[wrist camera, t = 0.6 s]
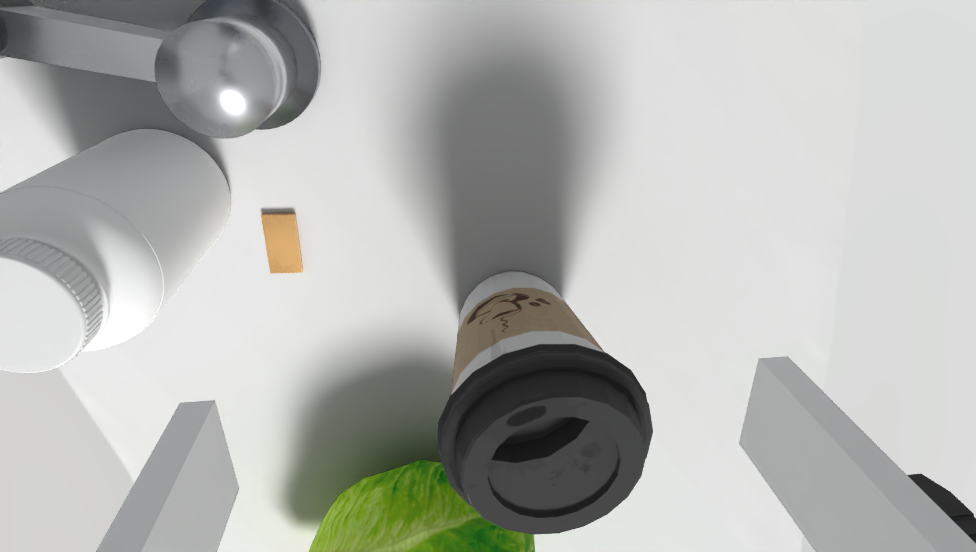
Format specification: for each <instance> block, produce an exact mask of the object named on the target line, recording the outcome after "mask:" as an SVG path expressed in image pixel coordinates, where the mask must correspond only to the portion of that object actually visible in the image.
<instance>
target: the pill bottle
mask: <svg viewBox="0 0 976 552" xmlns="http://www.w3.org/2000/svg"><path fill="white" fill-rule="evenodd" d="M230 210H231V197H230V191H229V187H228V184H227V181H226V179H225V177H224V175H223V173H222V171H221V169H220V168H219V166H218V165H217V164H216V162H215V161H214V160H213V159H212V158H211V157H210V156H209V155H208V154H207V153H206V152H205V151H204V150H203V149H202V148H200V147H199V146H198V145H196V144H195V143H193V142H191V141H190V140H188V139H186V138H184V137H182V136H179V135H177V134H174V133H171V132H167V131H163V130H157V129H137V130H131V131H127V132H123V133H120V134H117V135H114V136H112V137H110V138H108V139H106V140H104V141H102V142H100V143H98V144H96V145H94V146H92V147H90V148H88V149H86V150H84V151H82V152H80V153H78V154H76V155H74V156H72V157H70V158H68V159H66V160H64V161H62V162H60V163H58V164H56V165H54V166H52V167H50V168H48V169H46V170H44V171H42V172H41V173H39V174H37V175H35V176H33V177H31V178H29V179H27V180H25V181H23V182H21V183H19V184H17V185H15V186H13V187H11V188H9V189H7V190H5V191H3V192H1V193H0V369H3V370H7V371H13V372H22V373H33V372H43V371H48V370H51V369H52V370H53V369H56V368H57V367H58V368H59V367H61V366H62V365H65V364H67V363H68V362H70V361H72V360H73V359H74V358H75V357H76V356H77V355H78V354H79V353H80V352H81V351H93V350H99V349H104V348H108V347H112V346H115V345H117V344H120V343H122V342H124V341H126V340H128V339H130V338H132V337H134V336H136V335H137V334H139V333H140V332H142V331H143V330H144V329H145V328H146V327H147V326H148V325H149V324H150V323H151V322H152V321H153V320H154V319H155V318H156V317H157V315H158V314H159V313H160V312H161V310H162V309H163V308H164V307H165V305H166V304H167V303H168V302H169V300H170V299H171V298H172V296H173V295H174V294H175V293H176V291H177V290H178V289H179V288H180V286H181V285H182V284H183V283H184V281H185V280H186V279H187V278H188V276H189V275H190V274H191V273H192V271H193V270H194V269H195V268H196V266H197V265H198V264H199V262H200V261H201V260H202V259H203V257H204V256H205V255H206V254H207V252H208V251H209V250H210V249H211V247H212V246H213V245H214V244H215V242H216V241H217V240H218V239H219V237H220V236H221V234H222V233H223V231H224V229H225V227H226V225H227V222H228V219H229V216H230Z"/></svg>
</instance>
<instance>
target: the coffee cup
mask: <svg viewBox="0 0 976 552" xmlns="http://www.w3.org/2000/svg"><path fill="white" fill-rule="evenodd" d="M652 433H653V429H652V422H651V416H650V409H649V404H648V402H647V399H646V393H645V391H644V390H643V388H642V387H641V385H640V383H639V382H638V380H637V379H636V377H635V376H634V374H633V372H632V371H631V370H630V369H628V368H627V367H626V366H624V365H623V364H621V363H620V362H619V361H617V360H616V359H614V358H613V357H612V356H610V355H609V354H607V353H605V352H604V351H603V350H602V348H601V347H600V346H599V344H598V343H597V342H596V341H595V339H594V338H593V337H592V335H591V334H590V333H589V332H588V330H587V329H586V328H585V327H584V325H583V324H582V323H581V321H580V320H579V319H578V318H577V316H576V315H575V314H574V313H573V311H572V310H571V309H570V307H569V306H568V305H567V304H566V302H565V301H564V300H563V298H562V297H561V296H560V295H559V293H558V292H557V291H556V290H555V288H553V287H552V286H551V285H549V284H548V283H547V282H545V281H544V280H543V279H540V278H539V277H538V276H535V275H532V274H529V273H526V272H523V271H506V272H503V273H499V274H495V275H492V276H490V277H488V278H487V279H485V280H484V281H482V282H480V283H479V284H478V285H477V286H476V287H475V288H474V289H473V290H472V291H471V293H470V294H469V295H468V297H467V299H466V301H465V303H464V306H463V308H462V310H461V313H460V317H459V326H458V335H457V345H456V354H455V363H454V372H453V381H452V390H451V396H450V398H449V400H448V402H447V405H446V407H445V409H444V411H443V413H442V416H441V418H440V420H439V422H438V444H437V450H438V453H439V455H440V458H441V463H442V466H443V468H444V471H445V473H446V476H447V478H448V481H449V483H450V486H451V487H452V488H453V489H454V490H455V491H456V492H457V493H458V494H459V495H460V496H461V497H462V498H463V499H464V500H465V502H466V503H467V504H468V505H470V506H472V507H473V508H474V509H475V510H476V511H477V512H478V513H479V514H480V515H481V516H482V517H483V518H484V519H485V520H487V521H489V522H491V523H493V524H495V525H497V526H499V527H501V528H503V529H505V530H510V531H516V532H521V533H526V534H552V533H561V532H564V531H568V530H572V529H576V528H579V527H583V526H585V525H587V524H589V523H591V522H593V521H595V520H597V519H599V518H601V517H603V516H605V515H607V514H608V513H609V512H611V511H612V510H613V509H614V508H615V507H616V506H618V505H619V504H620V503H621V502H622V501H623V500H625V499H626V498H627V497H628V496H629V494H630V493H631V491H632V490H633V488H634V486H635V485H636V483H637V482H638V480H639V479H640V477H641V475H642V471H643V467H644V463H645V459H646V457H647V454H648V450H649V445H650V441H651V437H652Z"/></svg>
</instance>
